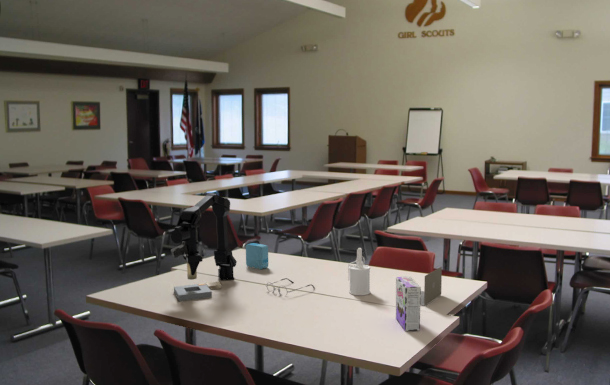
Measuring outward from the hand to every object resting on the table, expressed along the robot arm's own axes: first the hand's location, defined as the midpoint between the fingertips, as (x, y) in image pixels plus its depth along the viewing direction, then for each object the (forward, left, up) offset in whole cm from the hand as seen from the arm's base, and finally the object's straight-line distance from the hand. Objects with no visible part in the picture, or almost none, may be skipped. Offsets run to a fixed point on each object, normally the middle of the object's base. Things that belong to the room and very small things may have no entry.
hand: (192, 273), depth 247 cm
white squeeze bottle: (-68, +26, -10) cm, 73 cm away
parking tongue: (-11, -8, -9) cm, 16 cm away
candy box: (-66, +69, -10) cm, 96 cm away
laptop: (-88, +44, -10) cm, 99 cm away
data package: (-40, -35, -10) cm, 54 cm away
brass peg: (0, 0, -2) cm, 2 cm away
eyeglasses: (-42, +10, -10) cm, 44 cm away
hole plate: (0, 0, -9) cm, 9 cm away
